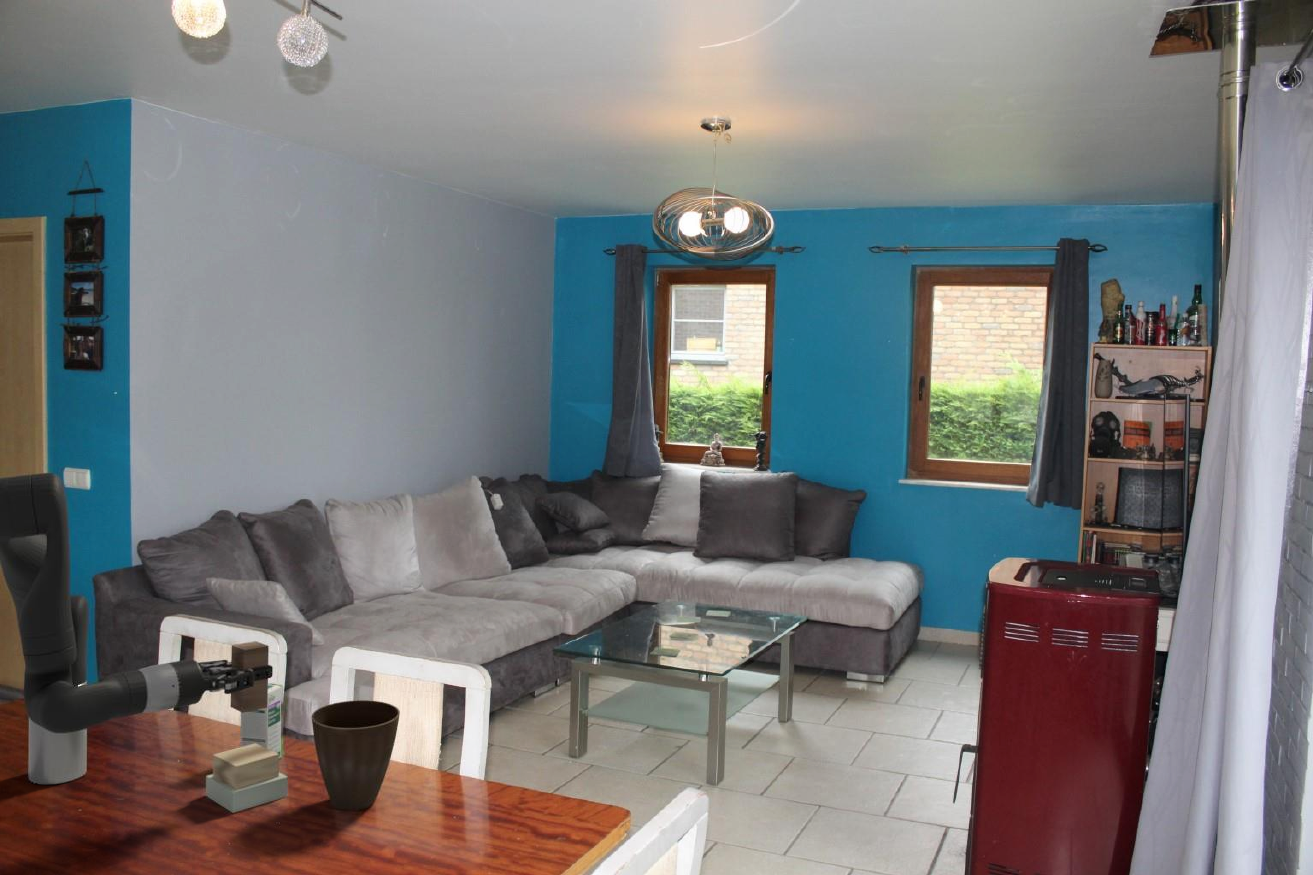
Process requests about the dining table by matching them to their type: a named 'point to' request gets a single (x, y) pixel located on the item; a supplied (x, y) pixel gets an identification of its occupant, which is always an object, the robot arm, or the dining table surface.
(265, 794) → the tower base
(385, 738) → the plant pot
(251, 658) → the walnut block
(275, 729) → the syrup box
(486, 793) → the dining table surface
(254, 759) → the tower top
